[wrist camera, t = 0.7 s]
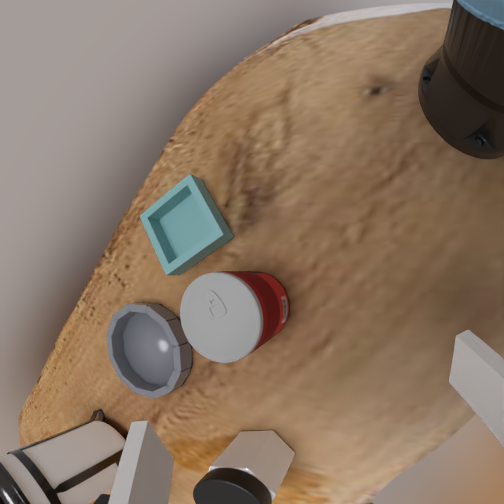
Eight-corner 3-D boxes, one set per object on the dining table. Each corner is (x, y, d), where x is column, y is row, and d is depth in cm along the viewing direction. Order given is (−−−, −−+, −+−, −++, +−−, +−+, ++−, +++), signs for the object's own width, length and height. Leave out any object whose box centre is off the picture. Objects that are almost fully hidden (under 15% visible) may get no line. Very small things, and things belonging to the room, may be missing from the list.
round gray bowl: (163, 286, 40) (150, 287, 38) (209, 372, 37) (197, 379, 35) (109, 325, 44) (96, 328, 41) (146, 400, 41) (134, 406, 38)
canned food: (260, 257, 36) (219, 252, 26) (305, 310, 34) (281, 328, 24) (216, 299, 38) (163, 308, 27) (256, 350, 36) (216, 379, 25)
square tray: (201, 180, 39) (190, 173, 36) (233, 237, 37) (223, 234, 34) (153, 219, 42) (139, 216, 39) (179, 275, 40) (166, 275, 37)
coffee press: (112, 477, 44) (3, 537, 16) (80, 409, 46) (-48, 451, 18) (176, 485, 39) (51, 580, 10) (137, 405, 41) (-26, 474, 13)
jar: (239, 474, 35) (201, 524, 24) (226, 429, 36) (179, 475, 25) (300, 475, 32) (275, 533, 21) (290, 427, 33) (259, 482, 22)
